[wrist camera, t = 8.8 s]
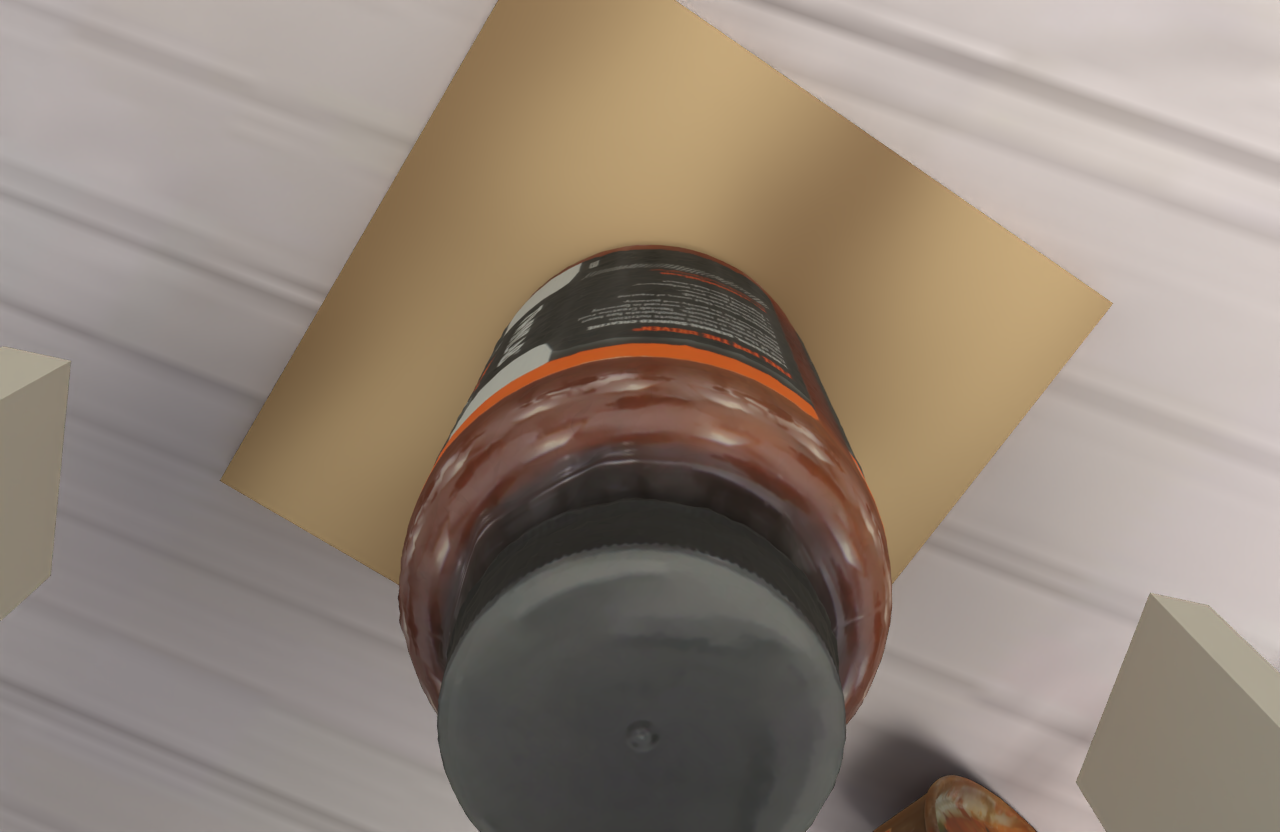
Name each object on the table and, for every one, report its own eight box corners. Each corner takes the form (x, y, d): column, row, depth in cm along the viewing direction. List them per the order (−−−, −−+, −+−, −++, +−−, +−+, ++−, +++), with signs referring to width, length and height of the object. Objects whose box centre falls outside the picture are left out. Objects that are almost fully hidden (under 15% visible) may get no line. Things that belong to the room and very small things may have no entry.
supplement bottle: (451, 280, 21) (238, 515, 11) (773, 202, 21) (893, 365, 10) (538, 574, 23) (432, 1035, 12) (839, 508, 23) (1001, 928, 12)
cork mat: (230, 470, 23) (219, 480, 23) (552, -83, 20) (548, -87, 20) (735, 764, 25) (736, 781, 24) (1101, 296, 22) (1113, 303, 21)
